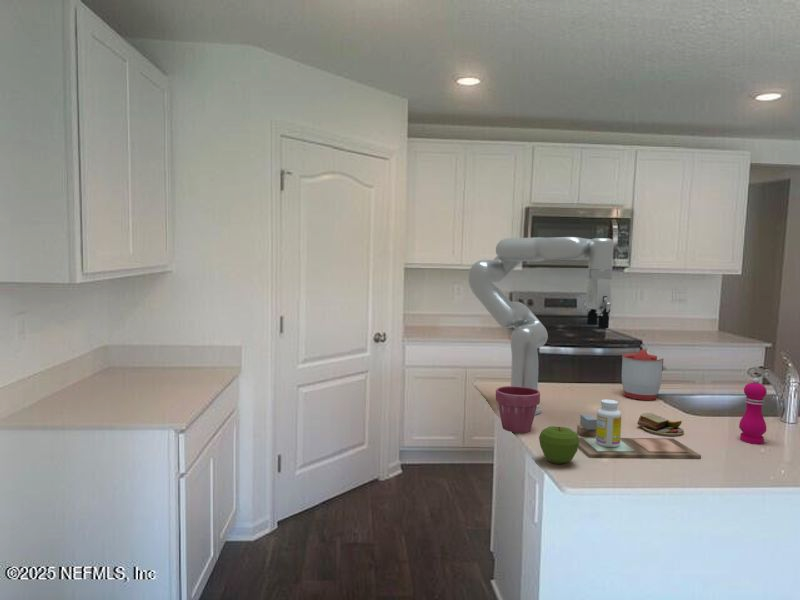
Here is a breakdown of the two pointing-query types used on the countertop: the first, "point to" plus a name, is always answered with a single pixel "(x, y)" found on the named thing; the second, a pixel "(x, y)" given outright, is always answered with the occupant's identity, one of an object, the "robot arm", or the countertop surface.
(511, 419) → the plant pot
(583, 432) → the brick walnut
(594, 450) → the tile board
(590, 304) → the robot arm
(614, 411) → the supplement bottle
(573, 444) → the apple
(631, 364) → the citrus juicer
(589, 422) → the brick grey
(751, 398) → the pepper mill
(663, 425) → the toy sandwich meal
